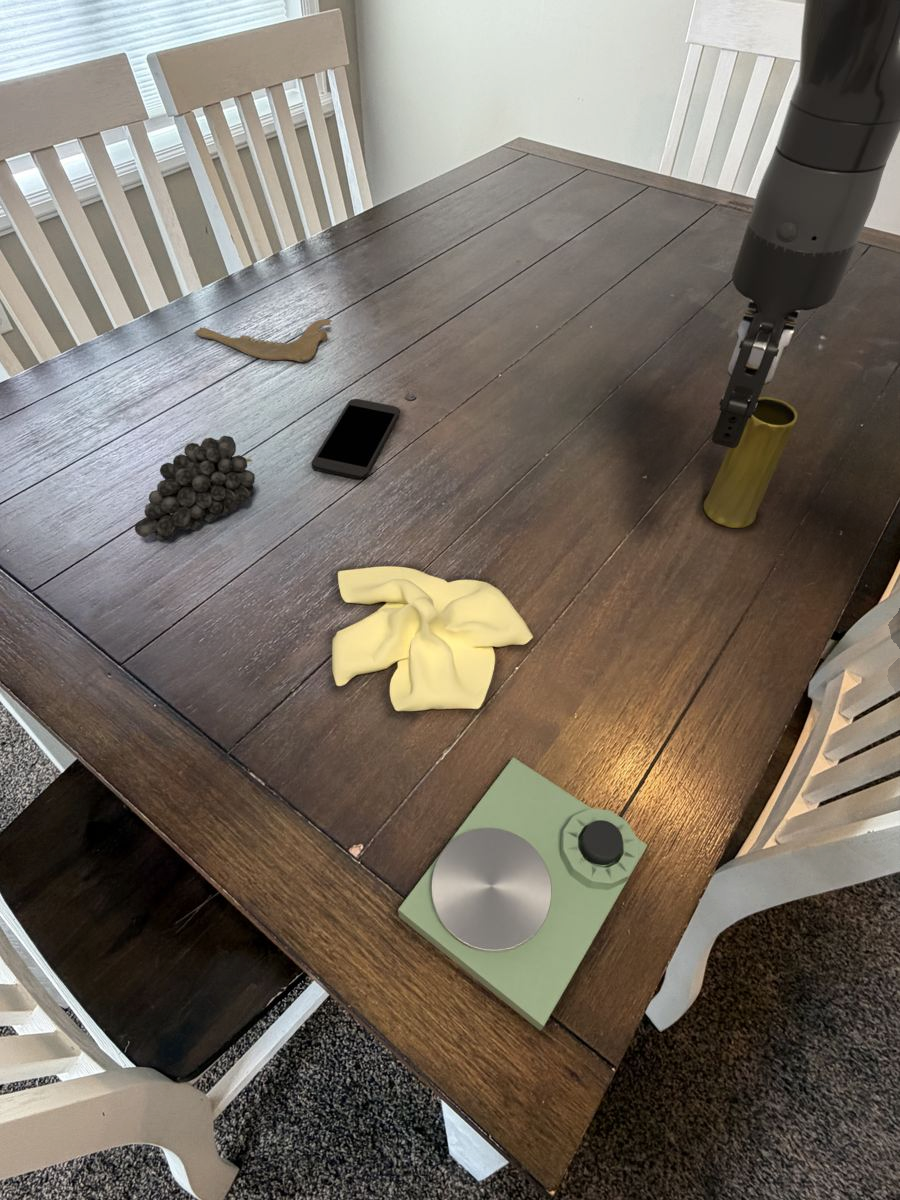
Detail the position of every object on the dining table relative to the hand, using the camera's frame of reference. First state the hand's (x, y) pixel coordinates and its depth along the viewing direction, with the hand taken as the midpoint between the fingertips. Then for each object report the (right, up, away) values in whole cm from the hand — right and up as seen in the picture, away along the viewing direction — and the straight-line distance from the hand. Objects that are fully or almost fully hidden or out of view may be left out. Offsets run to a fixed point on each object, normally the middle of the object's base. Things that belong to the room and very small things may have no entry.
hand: (734, 416), depth 64 cm
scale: (-19, -39, -6) cm, 44 cm away
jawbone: (-52, +23, +46) cm, 73 cm away
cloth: (-29, -19, +11) cm, 36 cm away
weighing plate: (-22, -38, -9) cm, 45 cm away
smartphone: (-37, +5, +30) cm, 48 cm away
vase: (+8, -6, +23) cm, 25 cm away
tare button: (-13, -36, -7) cm, 38 cm away
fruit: (-54, -6, +21) cm, 58 cm away
